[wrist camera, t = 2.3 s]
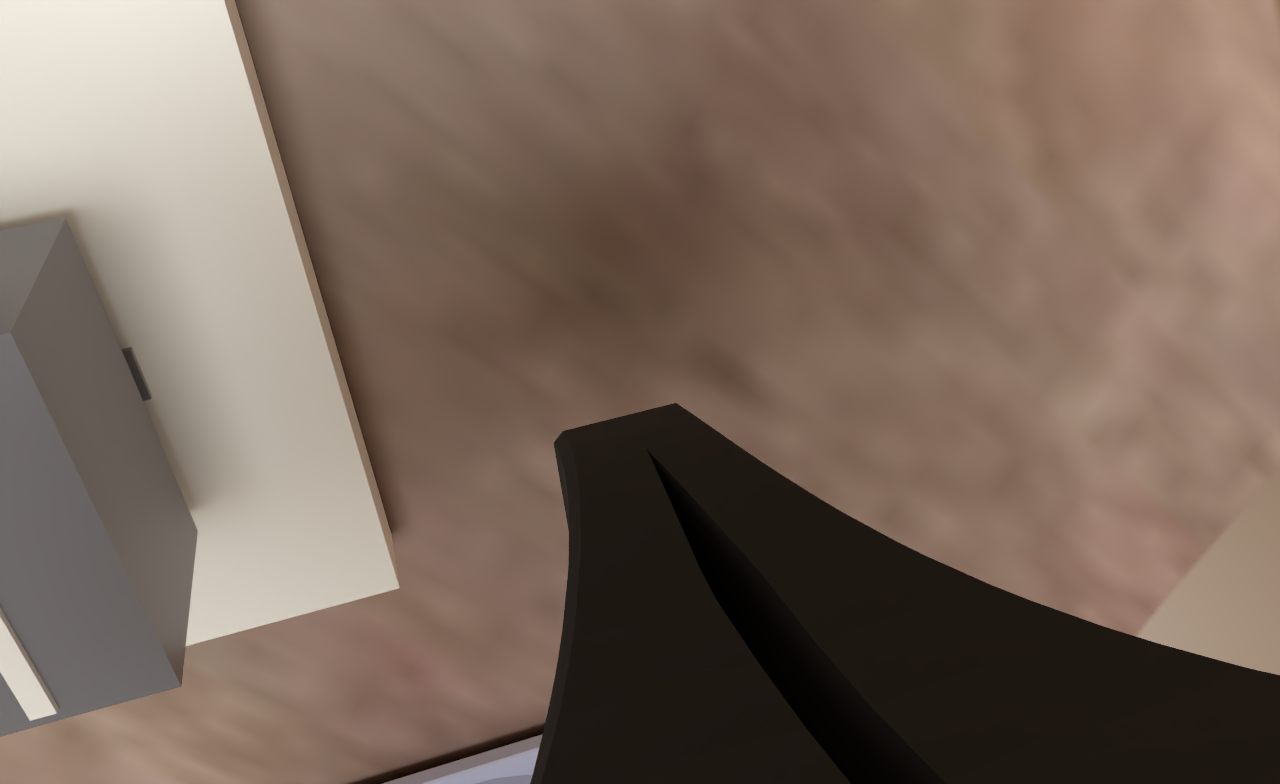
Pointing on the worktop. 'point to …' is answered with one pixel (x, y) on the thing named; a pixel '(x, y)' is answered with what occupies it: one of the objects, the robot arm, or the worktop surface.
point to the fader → (80, 501)
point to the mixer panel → (199, 290)
